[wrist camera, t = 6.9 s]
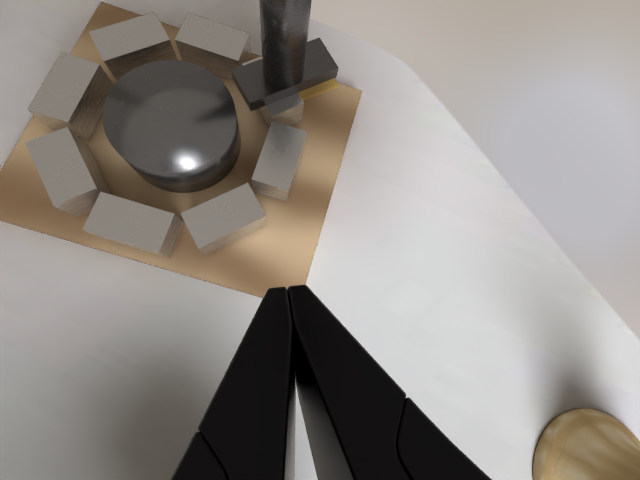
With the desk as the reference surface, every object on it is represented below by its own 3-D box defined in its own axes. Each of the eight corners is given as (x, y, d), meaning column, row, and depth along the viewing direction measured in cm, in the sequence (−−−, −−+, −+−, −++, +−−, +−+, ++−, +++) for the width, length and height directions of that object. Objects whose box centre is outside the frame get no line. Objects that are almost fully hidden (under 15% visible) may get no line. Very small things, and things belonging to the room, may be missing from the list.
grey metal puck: (219, 207, 20) (210, 189, 17) (107, 172, 20) (78, 148, 17) (255, 113, 22) (252, 83, 19) (153, 80, 22) (134, 43, 19)
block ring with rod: (376, 171, 22) (474, 31, 11) (114, 300, 18) (-129, 278, 7) (273, 3, 24) (271, -255, 13) (16, 86, 20) (-289, -184, 9)
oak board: (297, 308, 20) (298, 307, 19) (-10, 217, 19) (-29, 211, 18) (359, 97, 25) (363, 85, 23) (109, 12, 23) (100, -5, 22)
